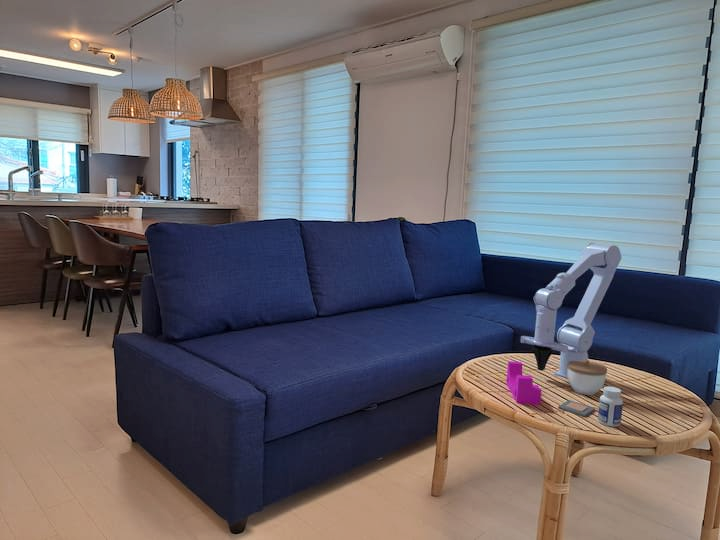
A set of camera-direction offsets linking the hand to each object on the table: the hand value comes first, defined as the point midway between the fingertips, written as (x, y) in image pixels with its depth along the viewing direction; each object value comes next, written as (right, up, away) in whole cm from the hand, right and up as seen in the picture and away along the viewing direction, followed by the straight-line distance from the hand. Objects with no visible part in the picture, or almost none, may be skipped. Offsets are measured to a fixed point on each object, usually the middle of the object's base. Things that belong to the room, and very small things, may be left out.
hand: (541, 369), depth 160 cm
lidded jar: (+10, -5, -9) cm, 14 cm away
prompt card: (+1, -6, -23) cm, 24 cm away
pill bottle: (+6, -8, -31) cm, 32 cm away
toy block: (-10, -5, -14) cm, 18 cm away
